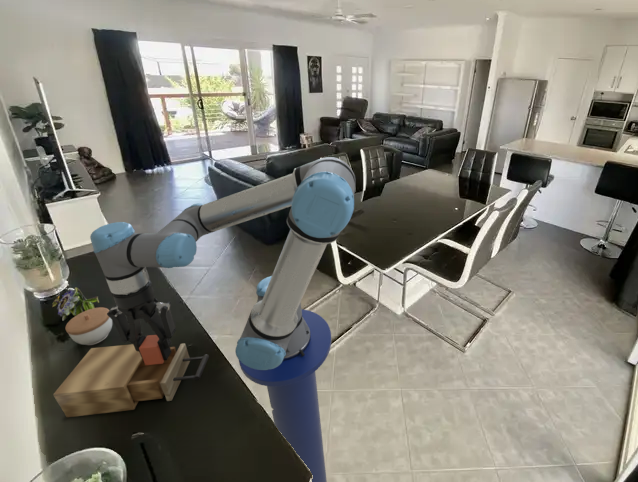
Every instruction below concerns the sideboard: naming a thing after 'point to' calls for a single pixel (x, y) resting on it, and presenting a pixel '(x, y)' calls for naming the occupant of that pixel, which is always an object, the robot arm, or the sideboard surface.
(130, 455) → the sideboard surface
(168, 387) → the drawer
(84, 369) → the cabinet
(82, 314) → the trinket box
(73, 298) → the passion flower
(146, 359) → the block
